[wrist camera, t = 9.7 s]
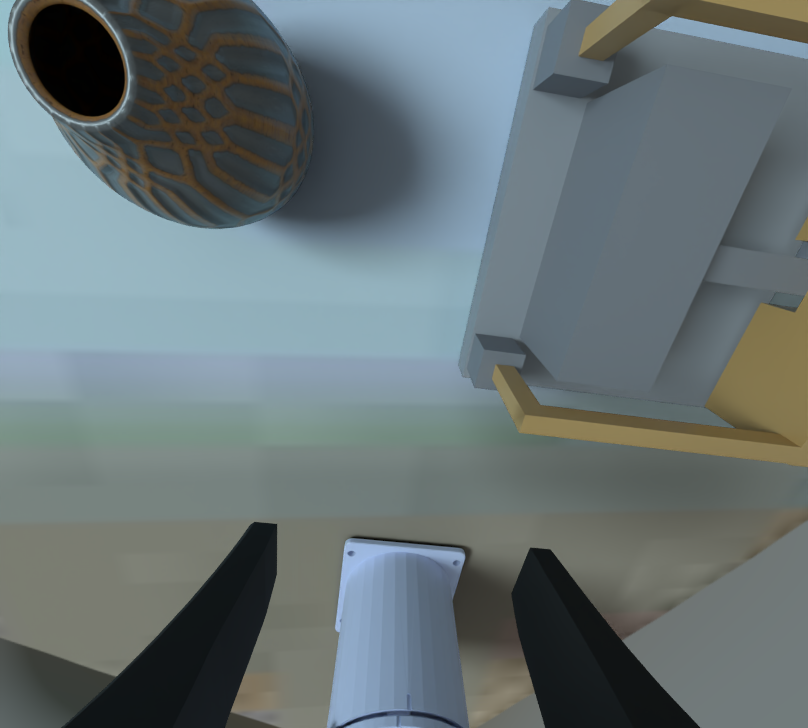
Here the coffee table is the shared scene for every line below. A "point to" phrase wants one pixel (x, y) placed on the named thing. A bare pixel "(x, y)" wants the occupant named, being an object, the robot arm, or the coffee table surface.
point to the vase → (172, 101)
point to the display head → (640, 213)
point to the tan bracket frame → (766, 333)
